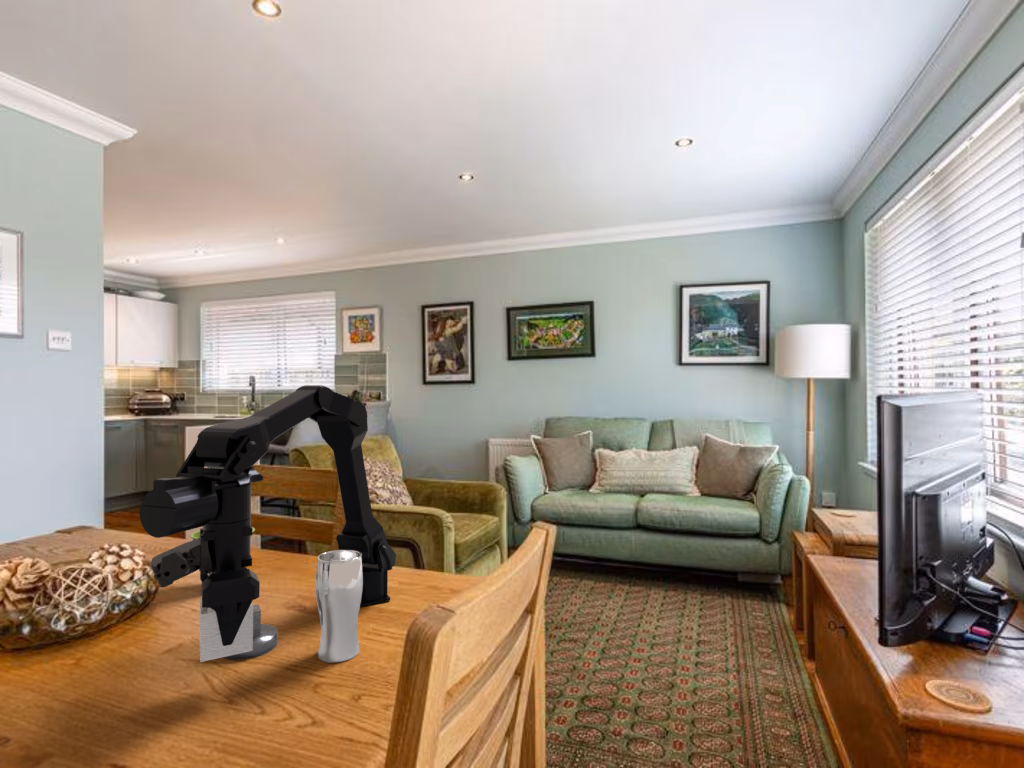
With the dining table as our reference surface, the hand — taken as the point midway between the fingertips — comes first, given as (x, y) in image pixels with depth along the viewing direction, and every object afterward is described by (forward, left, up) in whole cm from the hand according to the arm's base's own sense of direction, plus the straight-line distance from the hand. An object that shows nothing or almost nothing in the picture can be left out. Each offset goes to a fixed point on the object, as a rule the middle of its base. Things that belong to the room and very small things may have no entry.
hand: (225, 635), depth 72 cm
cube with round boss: (0, 0, -2) cm, 2 cm away
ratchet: (-4, -17, -7) cm, 19 cm away
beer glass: (-16, -3, -8) cm, 18 cm away
